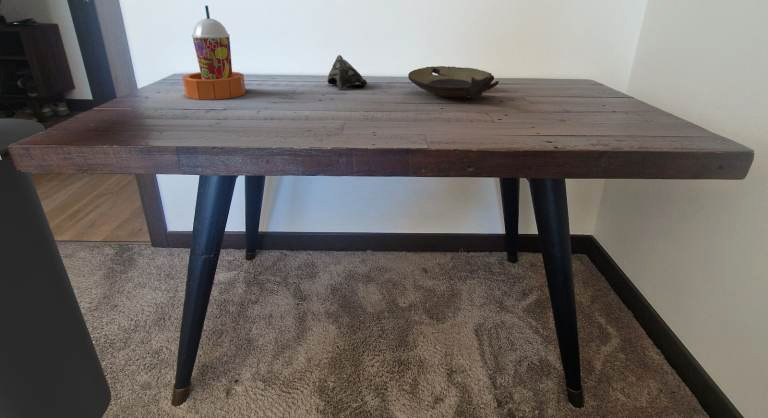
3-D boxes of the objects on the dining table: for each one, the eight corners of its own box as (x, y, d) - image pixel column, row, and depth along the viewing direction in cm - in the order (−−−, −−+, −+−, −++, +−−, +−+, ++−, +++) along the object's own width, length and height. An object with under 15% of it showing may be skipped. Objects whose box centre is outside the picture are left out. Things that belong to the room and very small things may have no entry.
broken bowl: (487, 86, 122) (490, 57, 119) (509, 112, 96) (514, 75, 92) (407, 84, 123) (408, 55, 120) (407, 109, 97) (408, 73, 93)
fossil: (376, 85, 118) (362, 51, 112) (351, 104, 116) (335, 71, 110) (355, 77, 126) (340, 46, 120) (331, 96, 124) (315, 65, 117)
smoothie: (195, 94, 108) (179, 5, 100) (225, 89, 114) (213, 5, 105) (213, 98, 104) (199, 6, 95) (244, 93, 109) (232, 5, 101)
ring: (177, 99, 103) (174, 80, 101) (197, 88, 115) (194, 71, 113) (237, 99, 103) (234, 80, 101) (250, 88, 116) (248, 71, 114)
